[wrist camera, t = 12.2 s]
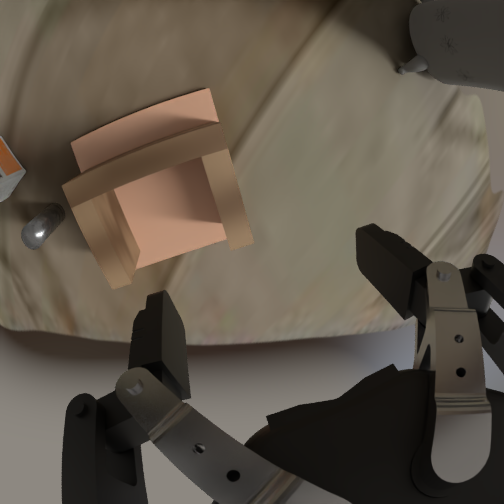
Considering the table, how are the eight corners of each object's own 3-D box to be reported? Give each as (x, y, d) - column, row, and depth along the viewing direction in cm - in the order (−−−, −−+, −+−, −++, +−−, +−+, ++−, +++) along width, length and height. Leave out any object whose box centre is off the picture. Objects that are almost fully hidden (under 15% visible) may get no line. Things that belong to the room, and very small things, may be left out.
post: (43, 208, 24) (17, 230, 19) (59, 199, 24) (34, 220, 19) (52, 227, 25) (28, 252, 20) (68, 219, 25) (45, 244, 20)
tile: (73, 141, 22) (70, 142, 21) (208, 88, 23) (209, 88, 22) (127, 268, 29) (126, 272, 29) (247, 228, 30) (249, 231, 30)
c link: (85, 169, 23) (61, 185, 18) (213, 121, 24) (220, 122, 18) (124, 257, 28) (112, 289, 23) (241, 217, 29) (254, 243, 23)
